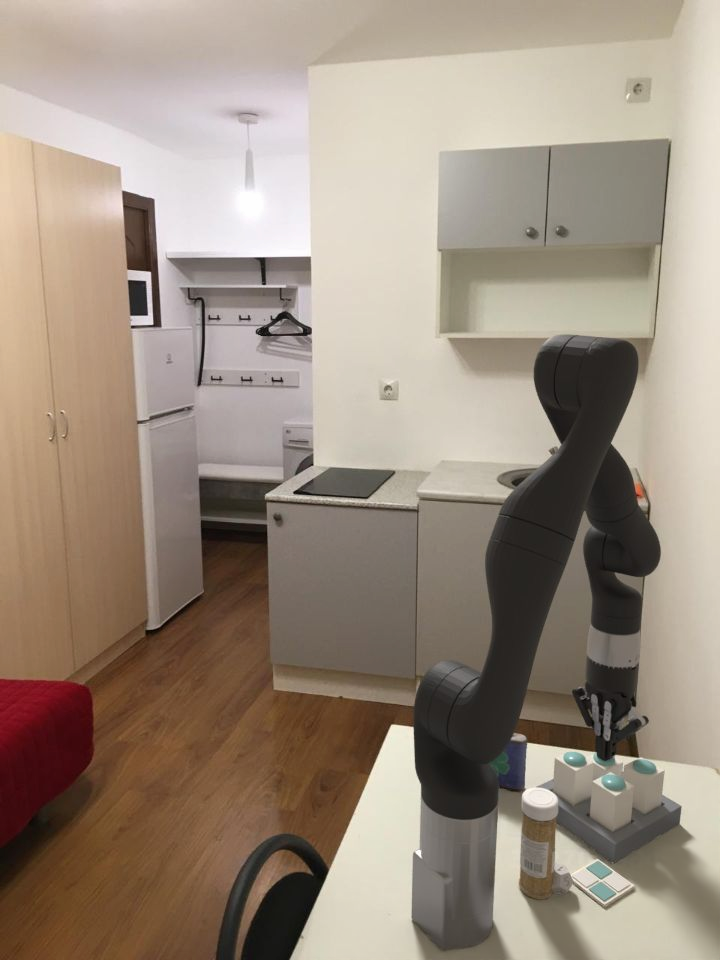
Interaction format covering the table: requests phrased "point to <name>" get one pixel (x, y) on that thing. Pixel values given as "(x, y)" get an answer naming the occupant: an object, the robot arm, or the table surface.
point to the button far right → (645, 784)
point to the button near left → (573, 777)
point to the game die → (561, 879)
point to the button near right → (611, 802)
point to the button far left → (605, 766)
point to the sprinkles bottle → (538, 842)
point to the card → (601, 882)
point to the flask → (512, 764)
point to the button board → (623, 839)
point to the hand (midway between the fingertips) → (605, 757)
